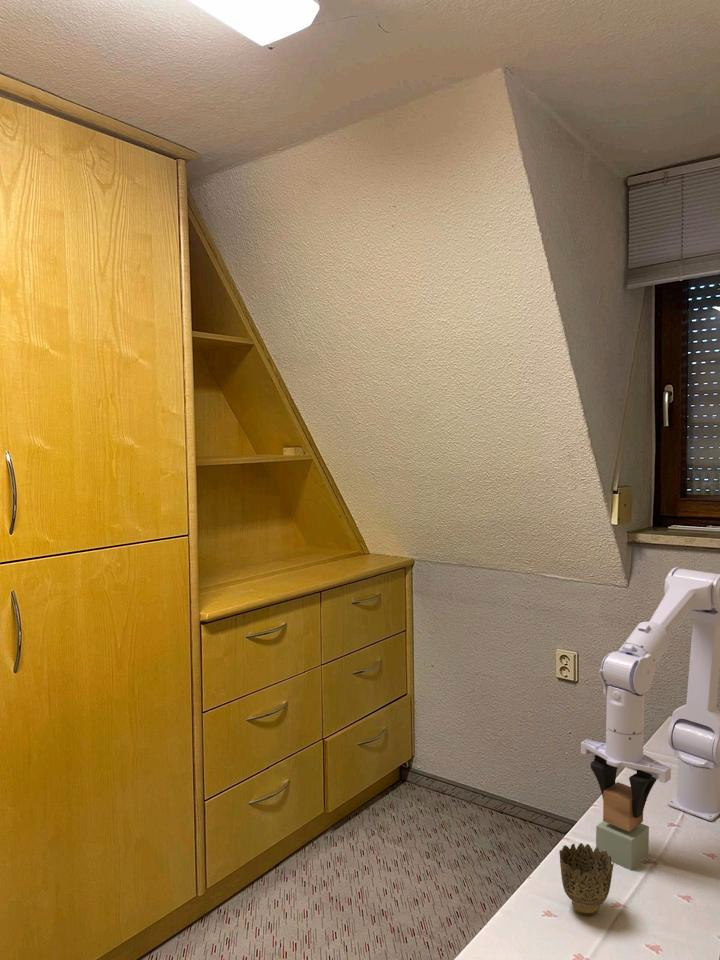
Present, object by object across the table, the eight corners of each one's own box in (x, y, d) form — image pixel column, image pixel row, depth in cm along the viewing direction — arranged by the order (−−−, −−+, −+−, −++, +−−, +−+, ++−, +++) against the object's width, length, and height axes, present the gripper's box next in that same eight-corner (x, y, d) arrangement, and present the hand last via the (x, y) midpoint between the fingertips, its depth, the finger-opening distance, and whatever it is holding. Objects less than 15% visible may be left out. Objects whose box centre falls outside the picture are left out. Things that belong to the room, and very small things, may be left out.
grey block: (613, 841, 125) (614, 812, 125) (648, 856, 121) (649, 826, 120) (595, 855, 121) (596, 825, 120) (630, 871, 116) (631, 840, 116)
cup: (615, 930, 102) (616, 874, 102) (560, 923, 104) (561, 868, 103) (608, 897, 110) (609, 845, 109) (557, 891, 111) (558, 839, 111)
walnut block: (617, 811, 123) (617, 781, 123) (642, 821, 120) (643, 791, 120) (603, 820, 120) (603, 791, 120) (629, 831, 117) (629, 801, 117)
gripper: (571, 721, 122) (570, 801, 123) (656, 748, 111) (654, 836, 112) (594, 710, 127) (592, 787, 128) (677, 736, 116) (675, 820, 117)
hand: (623, 809), depth 120 cm, fingers closed on walnut block, 4 cm apart
